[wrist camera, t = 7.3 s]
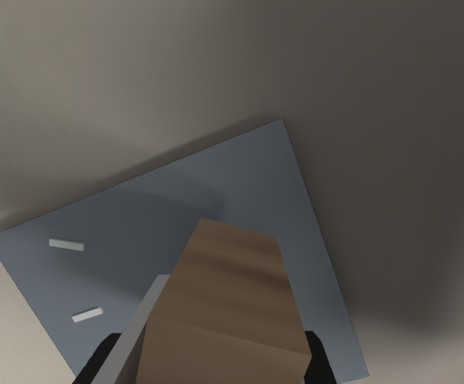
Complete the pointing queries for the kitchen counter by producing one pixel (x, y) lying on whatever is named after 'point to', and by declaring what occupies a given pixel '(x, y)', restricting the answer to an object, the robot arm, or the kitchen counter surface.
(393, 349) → the kitchen counter surface
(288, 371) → the knob
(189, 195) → the dial board
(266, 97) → the kitchen counter surface
